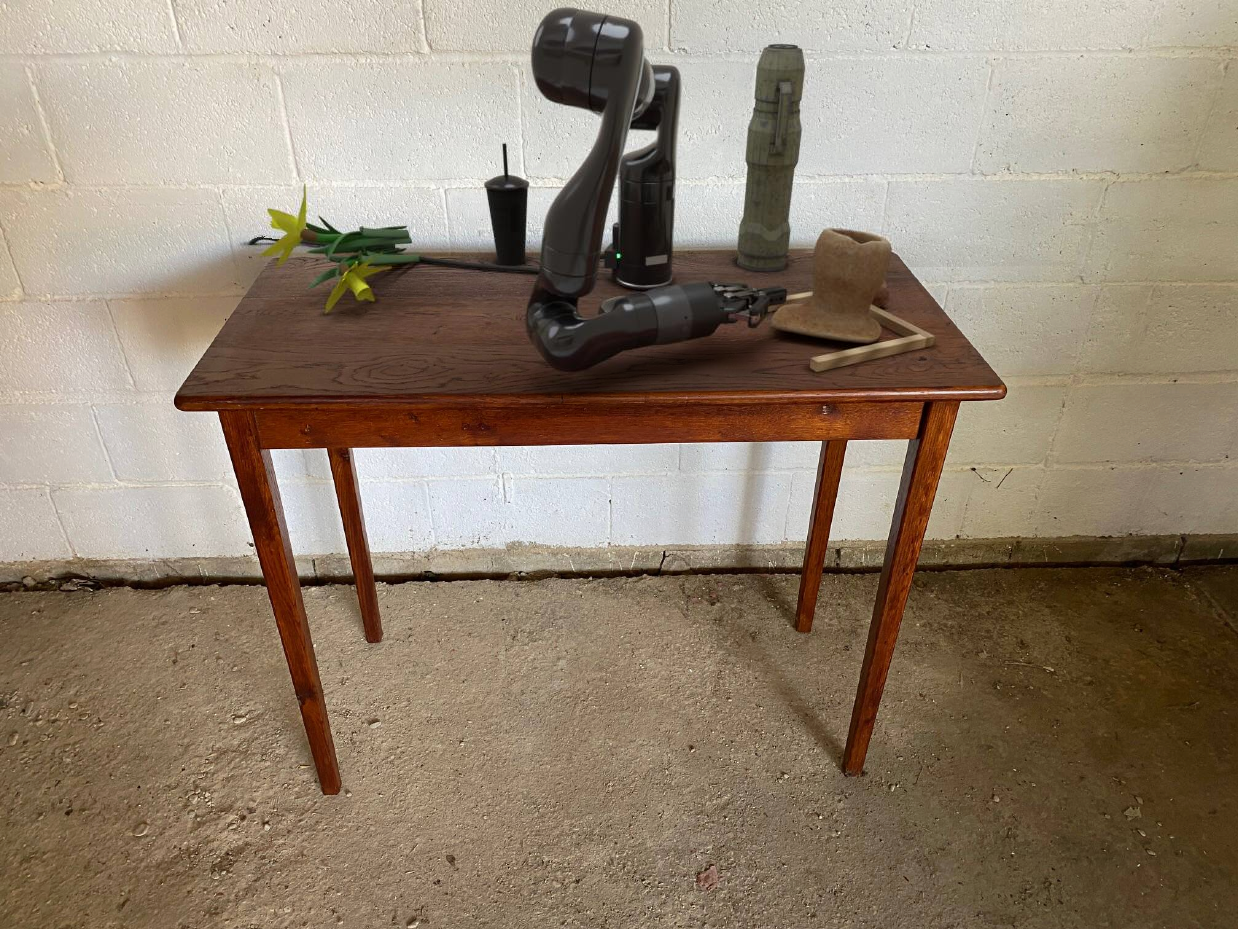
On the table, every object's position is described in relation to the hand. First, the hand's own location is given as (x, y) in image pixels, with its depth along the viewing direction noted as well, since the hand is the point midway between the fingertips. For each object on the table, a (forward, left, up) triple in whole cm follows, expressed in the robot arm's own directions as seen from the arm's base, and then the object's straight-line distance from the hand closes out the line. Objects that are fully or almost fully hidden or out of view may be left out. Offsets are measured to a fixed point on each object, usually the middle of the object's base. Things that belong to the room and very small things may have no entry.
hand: (783, 294), depth 117 cm
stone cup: (+5, +7, -7) cm, 11 cm away
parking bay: (+4, +7, -7) cm, 11 cm away
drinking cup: (-54, +4, -7) cm, 55 cm away
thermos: (-17, +29, -7) cm, 35 cm away
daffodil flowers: (-65, -21, -7) cm, 69 cm away
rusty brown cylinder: (+3, +28, -7) cm, 29 cm away
